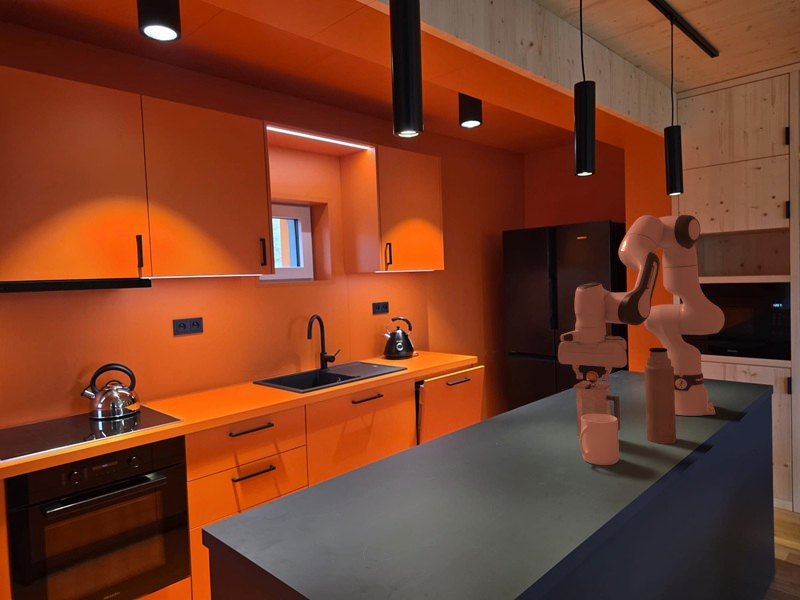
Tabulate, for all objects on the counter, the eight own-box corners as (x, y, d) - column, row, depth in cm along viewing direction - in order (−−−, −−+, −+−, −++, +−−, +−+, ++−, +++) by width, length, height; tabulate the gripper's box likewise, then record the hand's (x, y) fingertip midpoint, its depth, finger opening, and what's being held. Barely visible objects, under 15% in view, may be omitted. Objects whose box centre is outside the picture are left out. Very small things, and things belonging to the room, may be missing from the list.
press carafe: (584, 433, 166) (582, 380, 166) (623, 439, 159) (622, 383, 158) (575, 440, 159) (572, 385, 159) (615, 447, 152) (613, 389, 151)
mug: (625, 459, 142) (623, 417, 141) (604, 471, 133) (603, 426, 133) (592, 451, 149) (591, 411, 148) (571, 463, 140) (569, 420, 140)
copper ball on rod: (586, 423, 164) (584, 368, 164) (608, 426, 160) (606, 370, 160) (579, 428, 159) (577, 372, 159) (601, 431, 155) (599, 373, 154)
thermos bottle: (671, 435, 160) (668, 346, 159) (679, 443, 152) (677, 349, 151) (643, 435, 161) (640, 346, 160) (650, 443, 153) (647, 350, 152)
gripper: (629, 335, 155) (630, 380, 155) (562, 333, 168) (564, 375, 168) (623, 337, 150) (624, 384, 150) (555, 335, 163) (556, 379, 163)
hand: (592, 379), depth 159 cm, fingers open, 6 cm apart
